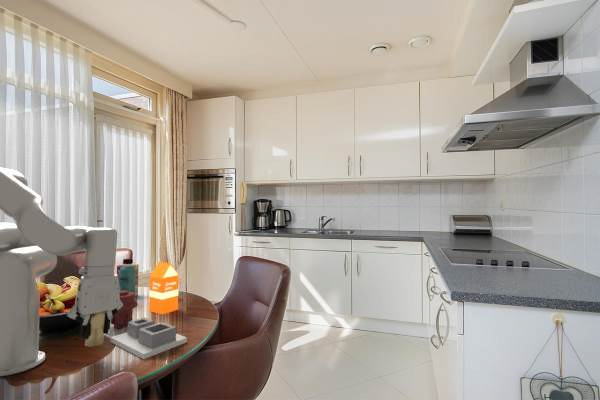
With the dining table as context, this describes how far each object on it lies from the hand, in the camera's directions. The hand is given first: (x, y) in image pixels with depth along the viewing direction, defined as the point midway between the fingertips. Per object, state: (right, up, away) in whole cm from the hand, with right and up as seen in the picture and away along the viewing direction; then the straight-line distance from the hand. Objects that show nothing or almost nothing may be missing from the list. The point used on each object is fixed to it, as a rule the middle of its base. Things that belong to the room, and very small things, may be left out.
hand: (94, 334), depth 89 cm
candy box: (-26, -9, +65) cm, 71 cm away
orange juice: (+1, -8, +43) cm, 44 cm away
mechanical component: (-7, -8, +25) cm, 27 cm away
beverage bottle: (-20, -9, +53) cm, 57 cm away
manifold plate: (+10, -7, +11) cm, 16 cm away
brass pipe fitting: (0, -2, 0) cm, 2 cm away
